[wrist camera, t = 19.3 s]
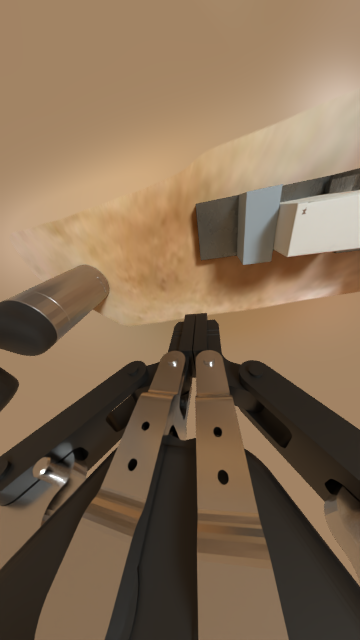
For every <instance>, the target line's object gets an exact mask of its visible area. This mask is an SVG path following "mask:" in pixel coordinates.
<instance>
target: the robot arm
mask: <svg viewBox="0 0 360 640" xmlns="http://www.w3.org/2000/svg"><path fill="white" fill-rule="evenodd" d="M108 293H109V285H108V282H107V280H106V278H105V277H104V276H103V274H102V273H100V272H99V271H98V270H97V269H95V268H93V267H91V266H88V265H81V266H78V267H76V268H74V269H71V270H69V271H67V272H65V273H62V274H60V275H58V276H56V277H54V278H52V279H49V280H47V281H45V282H43V283H41V284H39V285H37V286H35V287H32V288H30V289H28V290H26V291H23V292H22V293H19V294H17V295H15V296H13V297H11V298H9V299H6V300H4V301H2V302H0V349H4V350H7V351H10V352H13V353H17V354H21V355H27V356H35V355H39V354H42V353H44V352H45V351H47V350H48V349H49V348H50V347H51V346H53V345H54V344H55V343H56V342H57V341H58V340H59V339H60V338H61V337H62V336H64V334H66V333H67V332H68V331H69V330H70V329H71V328H72V327H73V326H74V325H76V324H77V323H78V322H79V321H80V320H81V319H82V318H83V317H85V316H86V315H87V314H88V313H89V312H90V311H91V310H92V309H94V308H95V307H96V306H97V305H98V304H99V303H100V302H101V301H103V300H104V299H105V298H106V297H107V295H108ZM193 377H194V378H196V387H197V388H196V389H197V390H196V391H197V395H196V400H195V408H196V438H194V439H189V440H186V435H187V428H186V425H187V416H188V410H189V404H190V398H191V391H192V387H191V384H192V378H193ZM18 386H19V382H18V380H17V379H16V378H15V377H13V376H12V375H11V374H9V373H8V372H6V371H5V370H3V369H2V368H0V411H1V410H2V409H3V408H4V407H5V406H6V405H7V404H8V403H9V401H10V400H11V399H12V398H13V396H14V394H15V393H16V391H17V389H18ZM130 395H131V396H130ZM127 397H128V398H127ZM126 398H127V399H126ZM125 399H126V400H125ZM124 400H125V401H124ZM120 403H121V404H120ZM119 404H120V405H119ZM118 405H119V406H118ZM117 406H118V407H117ZM235 406H238V407H239V409H240V410H241V412H242V413H243V414H244V415H245V416H246V417H247V418H248V419H249V420H250V421H251V422H252V424H253V425H254V426H255V427H256V428H257V429H258V430H259V431H260V432H261V433H262V434H263V435H264V436H265V438H266V439H268V441H269V442H270V443H271V444H272V445H273V446H274V447H275V448H276V449H277V450H278V452H279V453H280V454H281V455H282V456H283V457H284V458H285V459H286V460H287V461H288V462H289V463H290V464H291V466H292V467H293V468H294V469H295V470H296V471H297V472H298V473H299V474H300V475H301V476H302V477H303V479H304V480H305V481H306V482H307V483H308V484H309V485H310V486H311V487H312V488H313V489H314V490H315V491H316V493H317V494H318V495H319V496H320V497H321V498H322V499H323V500H324V501H325V504H324V513H325V518H326V522H327V524H328V527H329V529H330V531H331V533H332V535H333V536H334V538H335V540H336V541H337V543H338V544H339V545H340V547H341V548H342V550H343V551H344V552H345V554H346V555H347V556H348V558H349V560H350V562H351V563H352V565H353V567H354V569H355V571H356V573H357V576H358V578H359V581H360V430H359V429H358V428H356V427H355V426H353V425H352V424H351V423H349V422H348V421H346V420H345V419H343V418H342V417H340V416H339V415H338V414H336V413H335V412H333V411H332V410H330V409H329V408H328V407H326V406H325V405H323V404H322V403H320V402H319V401H317V400H316V399H315V398H313V397H312V396H310V395H309V394H307V393H306V392H304V391H303V390H302V389H300V388H299V387H297V386H296V385H294V384H293V383H291V382H290V381H289V380H287V379H286V378H284V377H283V376H281V375H280V374H279V373H277V372H276V371H274V370H273V369H271V368H270V367H268V366H266V365H265V364H264V363H262V362H259V361H253V360H250V361H246V362H244V363H242V364H241V365H240V364H236V363H233V362H230V361H228V360H227V359H225V358H224V356H223V355H222V352H221V344H220V335H219V325H218V323H217V322H216V321H215V320H207V313H201V314H187V315H185V320H184V322H178V323H177V324H176V326H175V327H174V331H173V335H172V339H171V343H170V346H169V350H168V353H166V354H165V355H164V356H163V357H162V358H161V360H160V362H158V363H155V364H152V365H148V366H146V365H145V363H143V362H141V361H134V362H131V363H129V364H128V365H126V366H125V367H123V368H122V369H121V370H119V371H118V372H116V373H115V374H114V375H112V376H111V377H109V378H108V379H107V380H105V381H104V382H103V383H101V384H100V385H98V386H97V387H96V388H94V389H93V390H92V391H90V392H89V393H87V394H86V395H85V396H83V397H82V398H81V399H79V400H78V401H76V402H75V403H74V404H72V405H71V406H69V407H68V408H67V409H65V410H64V411H62V412H61V413H60V414H58V415H57V416H56V417H54V418H53V419H51V420H50V421H49V422H47V423H46V424H45V425H43V426H42V427H40V428H39V429H38V430H36V431H35V432H33V433H32V434H31V435H29V436H28V437H27V438H25V439H24V440H23V441H21V442H20V443H19V444H17V445H16V446H14V447H13V448H12V449H10V450H9V451H7V452H6V453H4V454H3V455H2V456H0V640H360V587H359V585H358V584H357V583H356V581H355V580H354V579H353V577H352V576H351V575H350V574H349V572H348V571H347V570H346V568H345V567H344V566H343V564H342V563H341V562H340V561H339V559H338V558H337V557H336V555H335V554H334V553H333V552H332V550H331V549H330V548H329V546H328V545H327V544H326V542H325V541H324V540H323V539H322V537H321V536H320V535H319V533H318V532H317V531H316V530H315V528H314V527H313V526H312V525H311V523H310V522H309V521H308V519H307V518H306V517H305V515H304V514H303V513H302V511H301V510H300V509H299V508H298V506H297V505H296V504H295V503H294V501H293V500H292V499H291V497H290V496H289V495H288V494H287V492H286V491H285V490H284V488H283V487H282V486H281V484H280V483H279V482H278V481H277V479H276V478H275V477H274V475H273V474H272V473H271V472H270V470H269V469H268V468H267V467H266V466H265V465H264V464H263V463H262V462H261V461H260V460H259V459H258V458H257V457H256V456H254V455H253V454H252V453H250V452H249V451H248V450H246V449H244V446H243V442H242V437H241V433H240V428H239V424H238V419H237V414H236V410H235ZM116 407H117V408H116ZM114 408H115V409H114ZM113 409H114V410H113ZM112 410H113V411H112ZM121 438H122V439H121ZM120 439H121V441H120V444H119V446H118V448H116V449H115V450H114V451H113V452H112V453H111V454H110V455H109V456H108V457H107V458H106V459H105V460H104V461H103V462H102V463H101V464H100V465H99V467H98V468H97V469H96V470H95V471H94V472H93V473H92V474H91V475H90V476H89V477H88V478H86V474H87V471H88V470H89V469H90V468H91V467H92V466H94V464H96V463H97V462H98V461H99V460H100V459H101V458H102V457H103V456H104V455H105V454H106V453H107V452H108V451H109V450H110V449H111V448H112V447H113V446H114V445H115V444H116V443H117V442H118V441H119V440H120Z"/></svg>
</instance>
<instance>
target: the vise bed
mask: <svg viewBox="0 0 360 640" xmlns="http://www.w3.org/2000/svg"><path fill="white" fill-rule="evenodd" d="M356 190H360V168H359V169H355V170H351V171H347V172H343V173H339V174H335V175H331V176H326V177H322V178H317V179H312V180H307V181H303V182H298V183H293V184H288V185H284V186H282V192H281V198H280V202H285V201H291V200H297V199H302V198H307V197H313V196H318V195H323V194H331V193H340V192H348V191H356ZM238 206H239V195H236V196H232V197H227V198H222V199H217V200H213V201H208V202H203V203H198V204H196V213H197V224H198V235H199V246H200V257H201V260H207V259H214V258H221V257H228V256H236V255H237V238H238ZM357 250H360V248H359V249H350V250H342V251H334V253H341V252H349V251H357Z"/></svg>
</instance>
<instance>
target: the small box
mask: <svg viewBox="0 0 360 640" xmlns="http://www.w3.org/2000/svg"><path fill="white" fill-rule="evenodd" d="M359 248H360V190H356V191H348V192H340V193H331V194H323V195H318V196H313V197H307V198H302V199H297V200H291V201H285V202H280V205H279V212H278V219H277V225H276V232H275V239H274V245H273V250H275V251H277V252H279V253H280V254H282V255H284V256H286V257H294V256H302V255H310V254H318V253H326V252H334V251H342V250H350V249H359Z"/></svg>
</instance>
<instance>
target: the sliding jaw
mask: <svg viewBox="0 0 360 640" xmlns="http://www.w3.org/2000/svg"><path fill="white" fill-rule="evenodd" d="M282 185H283V184H282ZM282 185H277V186H273V187H268V188H263V189H258V190H254V191H249V192H245V193H243V194H240V195H239V206H238V238H237V256H238V258H239V259H240V261H241V263H242V264H243V265H247V264H255V263H263V262H271V259H272V252H273V245H274V239H275V232H276V225H277V219H278V212H279V205H280V198H281V192H282Z"/></svg>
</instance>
